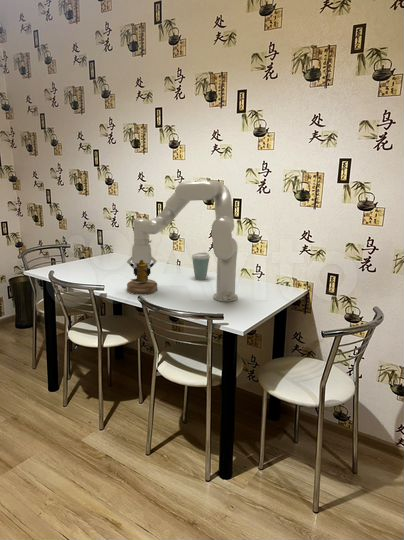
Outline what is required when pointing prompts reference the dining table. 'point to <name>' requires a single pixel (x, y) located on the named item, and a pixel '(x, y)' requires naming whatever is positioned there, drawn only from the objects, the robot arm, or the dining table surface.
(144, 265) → the condiment
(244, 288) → the dining table surface
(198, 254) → the disposable coffee cup
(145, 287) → the walnut stand
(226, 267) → the robot arm
